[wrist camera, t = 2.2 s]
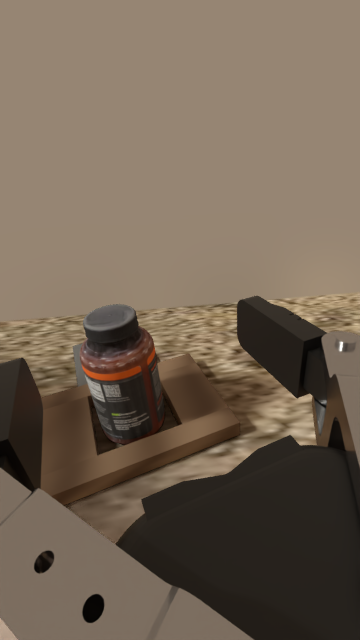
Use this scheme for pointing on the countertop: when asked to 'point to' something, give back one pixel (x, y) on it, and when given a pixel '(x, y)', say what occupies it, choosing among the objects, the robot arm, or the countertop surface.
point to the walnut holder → (140, 456)
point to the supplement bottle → (122, 374)
